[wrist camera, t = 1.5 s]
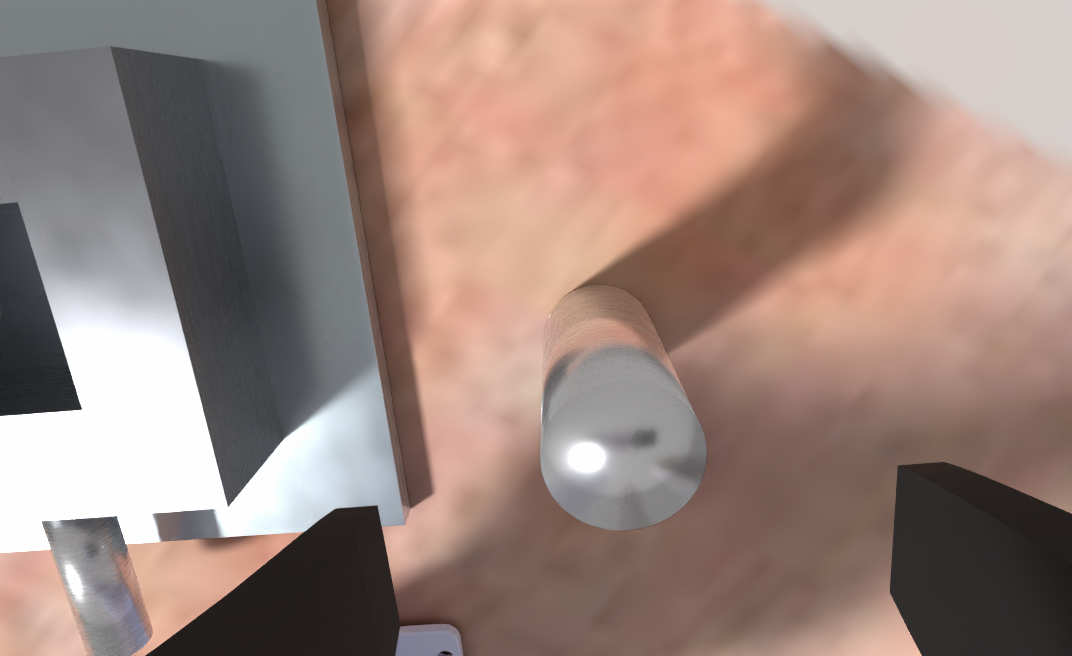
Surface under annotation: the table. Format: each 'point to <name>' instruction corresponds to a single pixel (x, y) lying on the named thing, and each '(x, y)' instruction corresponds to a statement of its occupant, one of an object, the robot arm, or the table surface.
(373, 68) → the table surface
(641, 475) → the pin
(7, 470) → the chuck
